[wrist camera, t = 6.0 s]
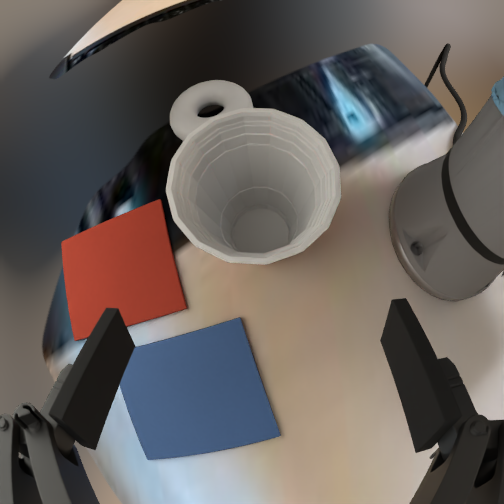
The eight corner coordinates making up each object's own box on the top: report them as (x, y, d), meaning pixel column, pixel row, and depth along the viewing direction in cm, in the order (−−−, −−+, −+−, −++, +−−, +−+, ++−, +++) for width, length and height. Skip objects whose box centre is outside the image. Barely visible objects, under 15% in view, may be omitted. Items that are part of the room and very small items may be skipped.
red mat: (63, 242, 30) (61, 241, 30) (161, 200, 30) (160, 198, 30) (76, 340, 27) (74, 340, 26) (187, 308, 27) (186, 308, 27)
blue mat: (112, 353, 26) (110, 353, 26) (240, 317, 26) (239, 317, 26) (148, 458, 23) (147, 460, 22) (280, 434, 23) (280, 436, 23)
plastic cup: (240, 314, 26) (213, 300, 15) (189, 220, 29) (142, 155, 18) (339, 254, 27) (379, 201, 16) (280, 170, 30) (280, 87, 19)
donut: (183, 164, 31) (266, 135, 31) (173, 147, 28) (264, 116, 28) (169, 109, 34) (240, 84, 34) (160, 92, 31) (236, 65, 31)
